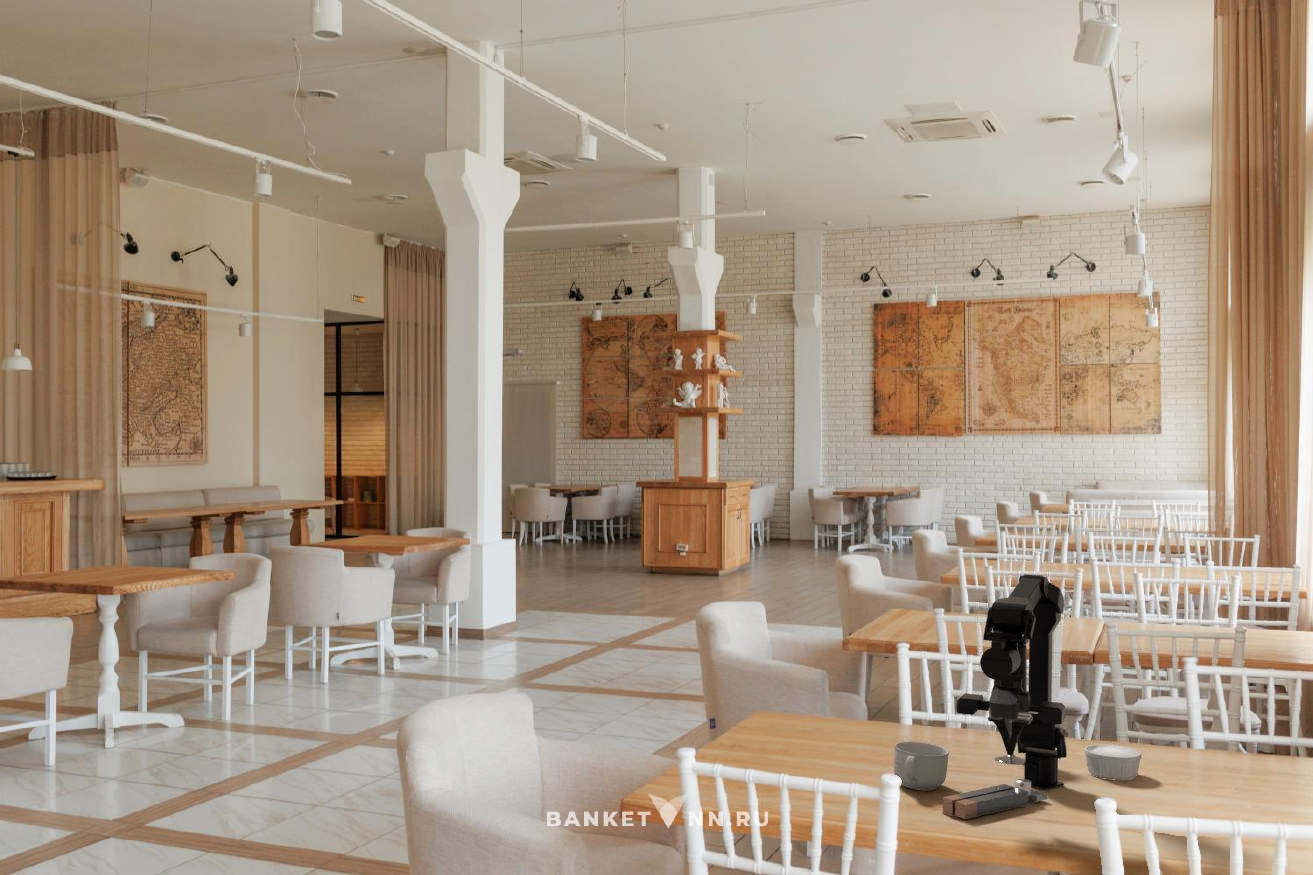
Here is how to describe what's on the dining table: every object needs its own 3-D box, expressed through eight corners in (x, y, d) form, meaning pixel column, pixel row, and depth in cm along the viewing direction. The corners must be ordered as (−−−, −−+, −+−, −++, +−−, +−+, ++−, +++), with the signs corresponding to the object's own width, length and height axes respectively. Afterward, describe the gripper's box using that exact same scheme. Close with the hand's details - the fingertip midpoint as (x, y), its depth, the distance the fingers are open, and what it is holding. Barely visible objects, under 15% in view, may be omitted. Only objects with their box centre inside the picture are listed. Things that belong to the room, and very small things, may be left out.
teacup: (908, 776, 239) (909, 737, 239) (957, 786, 232) (958, 746, 232) (876, 790, 228) (876, 750, 229) (926, 801, 222) (926, 759, 222)
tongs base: (1024, 794, 227) (1024, 774, 227) (1047, 801, 222) (1047, 780, 222) (942, 813, 214) (942, 791, 214) (964, 821, 210) (964, 798, 210)
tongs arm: (1017, 801, 221) (1017, 787, 221) (1027, 804, 219) (1027, 791, 219) (955, 815, 212) (955, 801, 212) (965, 819, 210) (965, 804, 210)
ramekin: (1089, 765, 250) (1089, 741, 250) (1144, 773, 244) (1145, 748, 244) (1079, 777, 240) (1079, 752, 240) (1136, 785, 234) (1136, 759, 234)
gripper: (949, 673, 209) (949, 759, 209) (1057, 683, 201) (1057, 772, 201) (962, 662, 219) (962, 744, 219) (1065, 672, 211) (1065, 757, 211)
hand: (1010, 754), depth 212 cm, fingers closed
